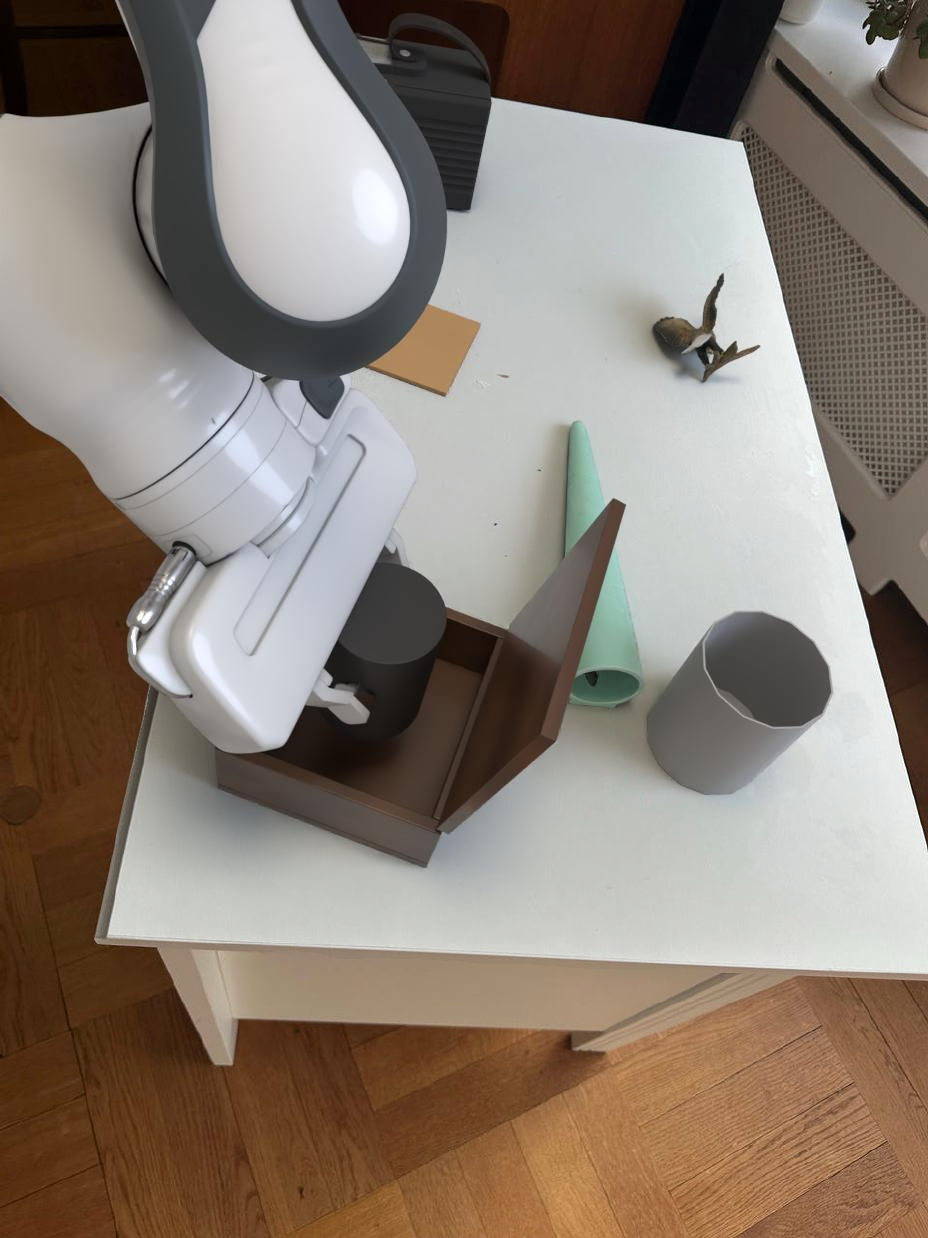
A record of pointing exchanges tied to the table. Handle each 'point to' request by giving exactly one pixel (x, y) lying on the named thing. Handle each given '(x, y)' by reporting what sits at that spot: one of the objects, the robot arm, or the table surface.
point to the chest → (379, 757)
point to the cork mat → (430, 350)
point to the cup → (738, 702)
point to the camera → (440, 97)
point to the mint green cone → (612, 622)
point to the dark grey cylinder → (388, 649)
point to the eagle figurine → (702, 335)
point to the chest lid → (533, 673)
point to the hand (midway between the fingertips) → (388, 655)
